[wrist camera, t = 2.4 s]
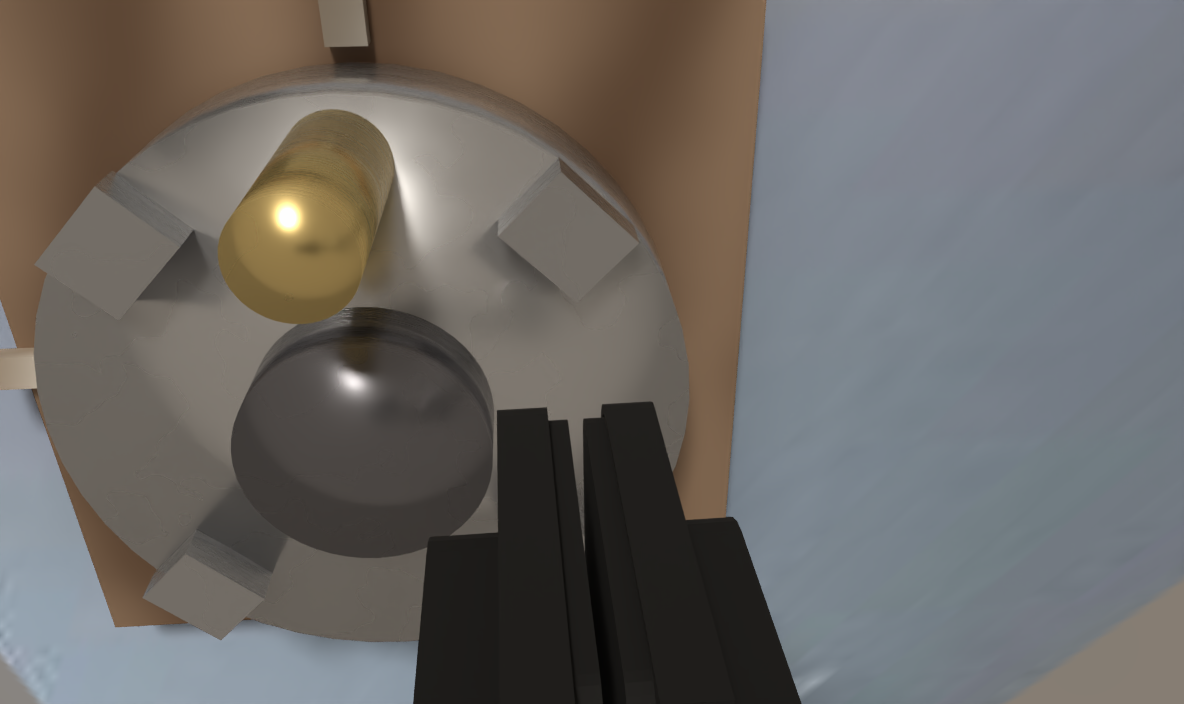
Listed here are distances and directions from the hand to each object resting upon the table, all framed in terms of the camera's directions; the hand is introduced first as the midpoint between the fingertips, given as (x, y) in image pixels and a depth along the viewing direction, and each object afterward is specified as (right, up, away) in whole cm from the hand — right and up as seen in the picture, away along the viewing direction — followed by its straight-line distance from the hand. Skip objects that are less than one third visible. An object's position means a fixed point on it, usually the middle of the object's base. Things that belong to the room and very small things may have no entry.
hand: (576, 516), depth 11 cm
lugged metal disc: (-6, +2, +16) cm, 17 cm away
